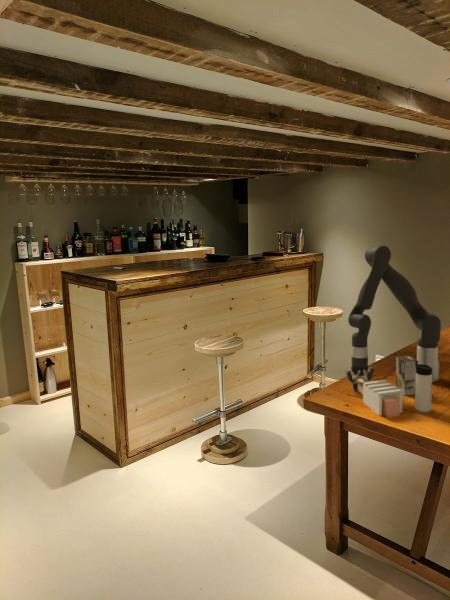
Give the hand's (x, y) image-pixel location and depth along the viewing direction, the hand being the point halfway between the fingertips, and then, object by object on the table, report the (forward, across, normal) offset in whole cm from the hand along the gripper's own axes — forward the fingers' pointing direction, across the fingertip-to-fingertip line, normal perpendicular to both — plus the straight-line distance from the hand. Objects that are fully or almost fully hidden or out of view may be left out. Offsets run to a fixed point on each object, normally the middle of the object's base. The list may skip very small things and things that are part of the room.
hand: (359, 389), depth 214 cm
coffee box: (0, -19, +8) cm, 21 cm away
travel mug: (0, -14, +28) cm, 32 cm away
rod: (+1, 0, +10) cm, 10 cm away
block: (0, 0, +28) cm, 28 cm away
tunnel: (0, 0, +20) cm, 21 cm away
